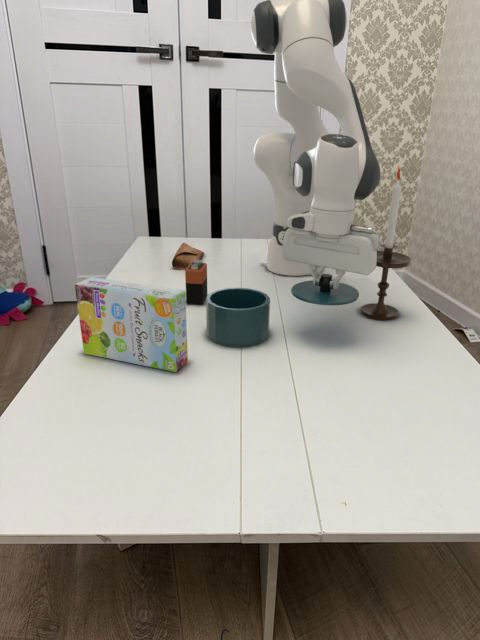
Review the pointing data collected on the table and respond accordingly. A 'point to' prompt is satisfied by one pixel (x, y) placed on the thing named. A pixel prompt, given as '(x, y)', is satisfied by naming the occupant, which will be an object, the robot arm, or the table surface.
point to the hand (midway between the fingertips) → (325, 286)
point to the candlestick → (388, 262)
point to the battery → (196, 282)
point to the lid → (324, 292)
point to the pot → (237, 317)
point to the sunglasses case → (186, 256)
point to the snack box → (133, 322)
